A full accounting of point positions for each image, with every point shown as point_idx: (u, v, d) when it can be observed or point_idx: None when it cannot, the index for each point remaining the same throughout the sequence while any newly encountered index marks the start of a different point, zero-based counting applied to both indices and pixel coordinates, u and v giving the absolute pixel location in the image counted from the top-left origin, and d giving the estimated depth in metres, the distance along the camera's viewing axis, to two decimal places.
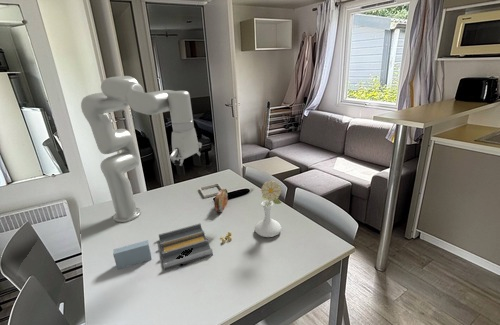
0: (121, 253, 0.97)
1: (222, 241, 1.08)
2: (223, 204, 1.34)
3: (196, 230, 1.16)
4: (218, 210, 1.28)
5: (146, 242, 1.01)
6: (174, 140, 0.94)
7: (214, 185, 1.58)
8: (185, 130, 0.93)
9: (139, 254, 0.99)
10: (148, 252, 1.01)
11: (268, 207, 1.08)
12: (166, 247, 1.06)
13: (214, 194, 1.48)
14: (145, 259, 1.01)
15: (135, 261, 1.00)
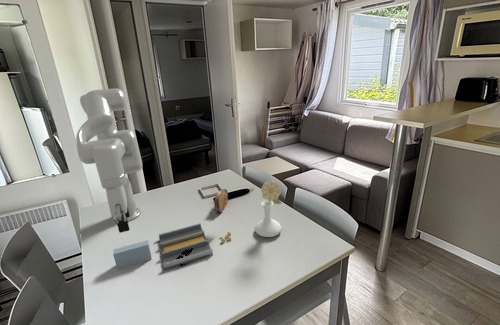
0: (121, 253, 0.97)
1: (222, 241, 1.09)
2: (223, 204, 1.34)
3: (196, 230, 1.16)
4: (218, 210, 1.28)
5: (146, 242, 1.01)
6: (113, 197, 0.86)
7: (214, 185, 1.58)
8: (123, 183, 0.88)
9: (139, 254, 0.99)
10: (148, 252, 1.01)
11: (268, 207, 1.08)
12: (166, 247, 1.06)
13: (214, 194, 1.48)
14: (145, 259, 1.01)
15: (135, 261, 1.00)
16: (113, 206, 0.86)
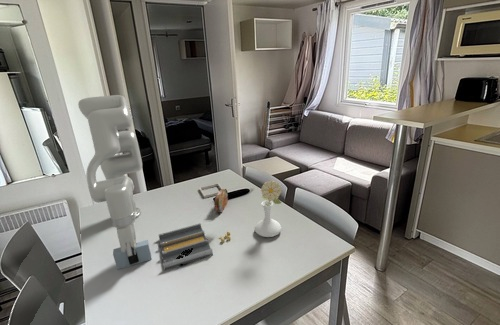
0: (121, 253, 0.96)
1: (221, 241, 1.09)
2: (223, 204, 1.34)
3: (196, 230, 1.16)
4: (218, 210, 1.28)
5: (146, 242, 1.01)
6: (123, 235, 0.91)
7: (214, 185, 1.58)
8: (132, 221, 0.93)
9: (139, 254, 0.99)
10: (148, 252, 1.00)
11: (268, 207, 1.08)
12: (166, 247, 1.06)
13: (214, 194, 1.48)
14: (145, 259, 1.01)
15: None
16: (123, 244, 0.92)
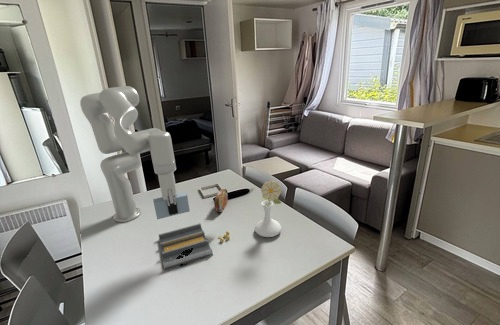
0: (161, 202, 0.96)
1: (220, 240, 1.09)
2: (223, 204, 1.34)
3: (196, 230, 1.16)
4: (218, 210, 1.28)
5: (185, 193, 1.01)
6: (166, 182, 0.91)
7: (214, 185, 1.58)
8: (174, 169, 0.93)
9: (178, 205, 0.99)
10: (187, 203, 1.00)
11: (268, 207, 1.08)
12: (166, 247, 1.06)
13: (214, 194, 1.48)
14: (183, 210, 1.01)
15: None
16: (165, 191, 0.92)
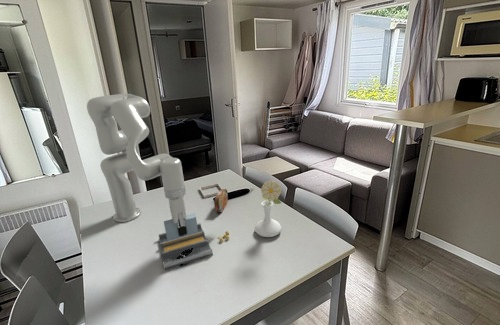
0: (172, 224, 1.01)
1: (220, 240, 1.09)
2: (223, 204, 1.34)
3: None
4: (218, 210, 1.28)
5: (193, 215, 1.05)
6: (176, 206, 0.96)
7: (214, 185, 1.58)
8: (184, 193, 0.98)
9: (188, 226, 1.04)
10: (195, 224, 1.05)
11: (268, 207, 1.08)
12: (166, 247, 1.06)
13: (214, 194, 1.48)
14: (192, 231, 1.05)
15: None
16: (176, 214, 0.96)
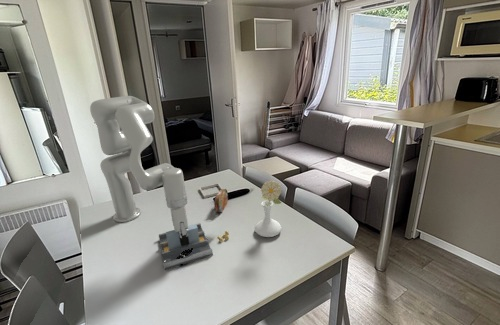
0: (174, 235, 1.03)
1: (219, 240, 1.09)
2: (223, 204, 1.34)
3: None
4: (218, 210, 1.28)
5: (195, 226, 1.07)
6: (178, 216, 0.97)
7: (214, 185, 1.58)
8: (185, 203, 0.99)
9: (189, 237, 1.06)
10: (197, 235, 1.07)
11: (268, 207, 1.08)
12: (166, 247, 1.06)
13: (214, 194, 1.48)
14: (194, 242, 1.07)
15: None
16: (178, 224, 0.98)
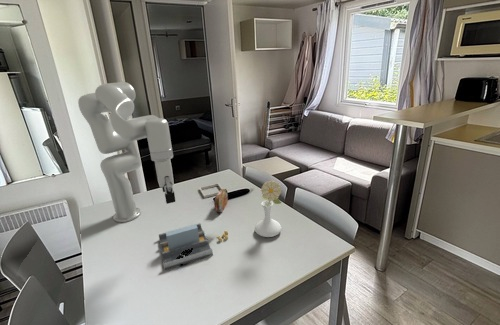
0: (174, 235, 1.03)
1: (219, 240, 1.09)
2: (223, 204, 1.34)
3: None
4: (218, 210, 1.28)
5: (195, 226, 1.07)
6: (163, 169, 0.91)
7: (214, 185, 1.58)
8: (171, 156, 0.93)
9: (189, 237, 1.06)
10: (197, 235, 1.07)
11: (268, 207, 1.08)
12: (166, 247, 1.06)
13: (214, 194, 1.48)
14: (194, 241, 1.07)
15: (185, 243, 1.06)
16: (162, 178, 0.92)
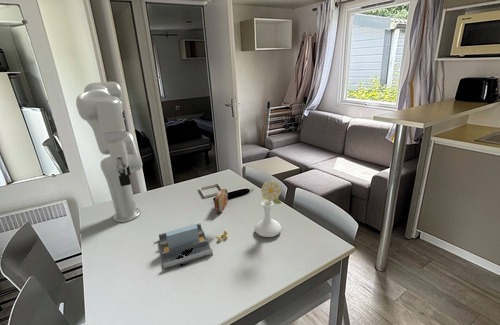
0: (174, 235, 1.03)
1: (218, 240, 1.09)
2: (223, 204, 1.34)
3: None
4: (218, 210, 1.28)
5: (195, 226, 1.07)
6: (115, 150, 0.89)
7: (214, 185, 1.58)
8: (124, 137, 0.91)
9: (189, 237, 1.06)
10: (197, 235, 1.07)
11: (268, 207, 1.08)
12: (166, 247, 1.06)
13: (214, 194, 1.48)
14: (194, 241, 1.07)
15: (185, 243, 1.06)
16: (115, 159, 0.90)
